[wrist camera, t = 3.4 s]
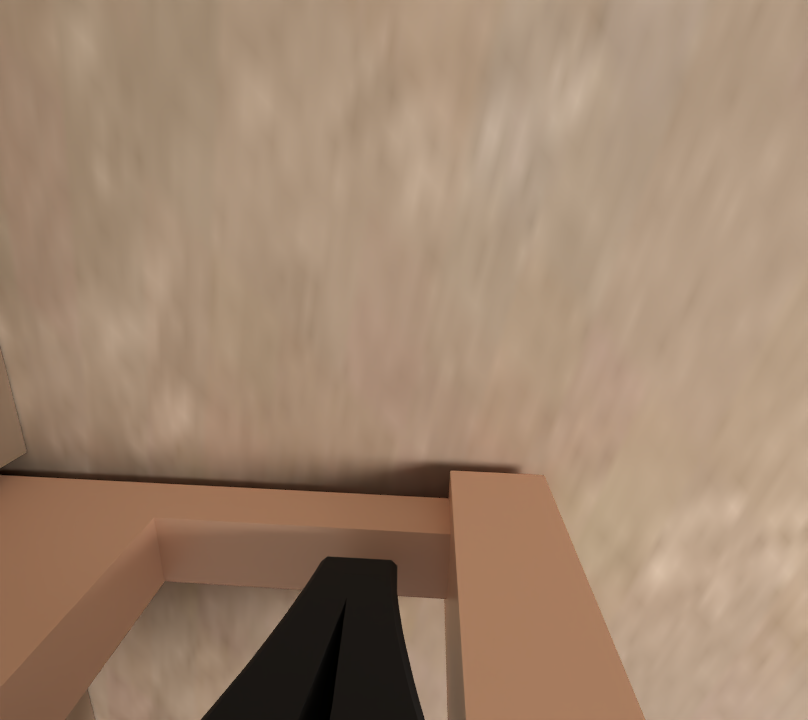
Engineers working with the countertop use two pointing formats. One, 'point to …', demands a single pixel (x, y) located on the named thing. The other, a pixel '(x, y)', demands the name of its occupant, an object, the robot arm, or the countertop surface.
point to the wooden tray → (4, 445)
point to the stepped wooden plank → (292, 569)
